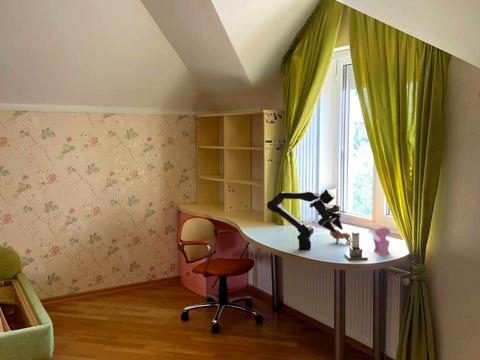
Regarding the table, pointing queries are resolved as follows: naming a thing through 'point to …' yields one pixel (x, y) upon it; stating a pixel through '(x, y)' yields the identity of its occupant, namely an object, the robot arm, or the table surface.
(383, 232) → the pink figurine
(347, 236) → the lion figurine
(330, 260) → the table surface
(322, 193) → the robot arm
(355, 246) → the steel post
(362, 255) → the stand base
